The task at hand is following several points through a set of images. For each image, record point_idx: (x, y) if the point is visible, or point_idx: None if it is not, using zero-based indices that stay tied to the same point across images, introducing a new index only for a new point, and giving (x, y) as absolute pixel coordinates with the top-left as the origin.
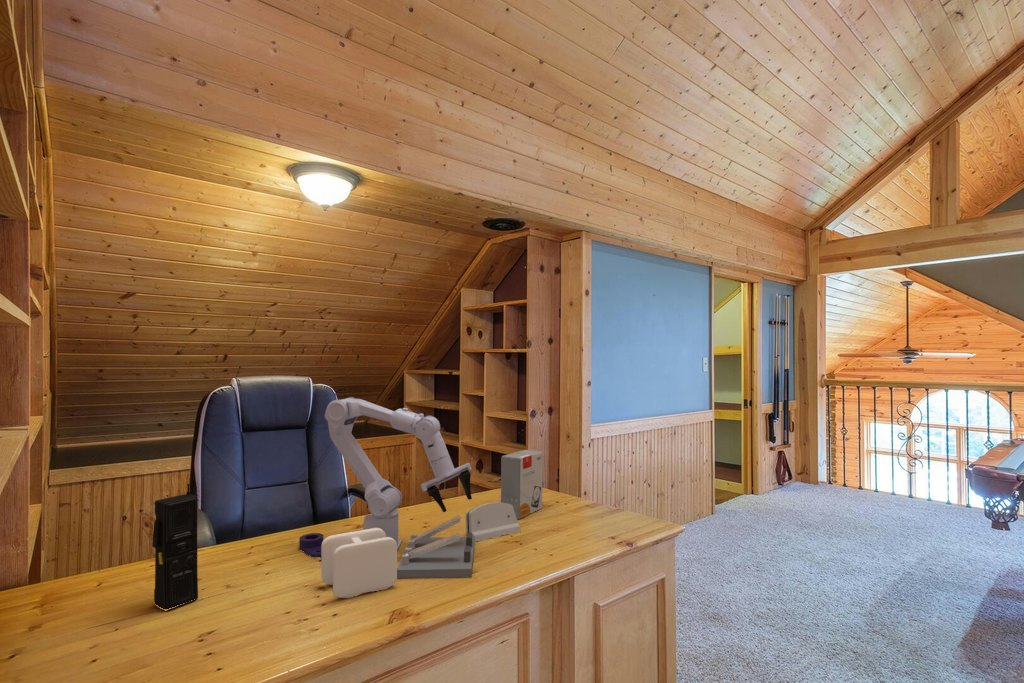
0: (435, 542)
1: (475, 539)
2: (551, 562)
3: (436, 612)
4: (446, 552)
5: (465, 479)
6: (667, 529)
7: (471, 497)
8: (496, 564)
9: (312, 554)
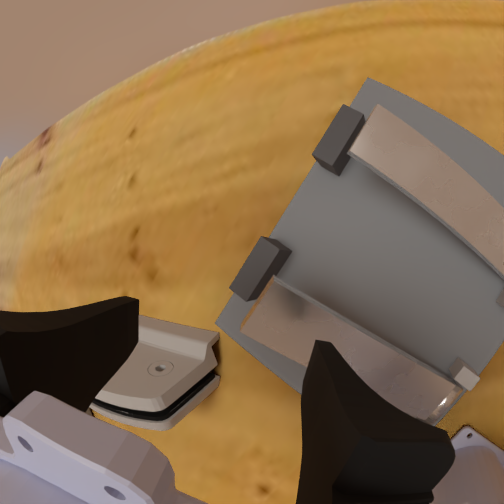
0: (454, 206)
1: (211, 335)
2: (158, 93)
3: (493, 8)
4: (380, 250)
5: (26, 327)
6: (6, 162)
7: (120, 297)
8: (262, 132)
9: None
